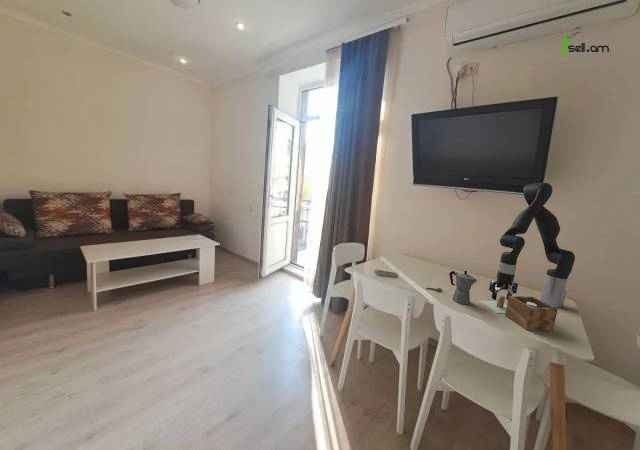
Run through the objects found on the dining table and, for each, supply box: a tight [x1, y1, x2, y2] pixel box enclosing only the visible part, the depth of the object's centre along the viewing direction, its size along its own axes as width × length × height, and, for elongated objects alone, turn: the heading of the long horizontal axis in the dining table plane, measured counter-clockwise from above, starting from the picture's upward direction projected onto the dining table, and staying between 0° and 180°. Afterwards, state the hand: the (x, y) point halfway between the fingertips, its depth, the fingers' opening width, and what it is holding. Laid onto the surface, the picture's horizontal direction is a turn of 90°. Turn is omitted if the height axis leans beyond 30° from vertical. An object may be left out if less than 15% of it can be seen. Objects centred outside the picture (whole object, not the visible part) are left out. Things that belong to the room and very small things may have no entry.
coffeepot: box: [448, 270, 478, 306], centre depth 145 cm, size 15×9×18 cm, turn 33°
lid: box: [478, 295, 507, 315], centre depth 140 cm, size 14×14×7 cm
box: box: [504, 295, 559, 332], centre depth 124 cm, size 13×13×11 cm
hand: (501, 299), depth 140 cm, fingers open, 8 cm apart
